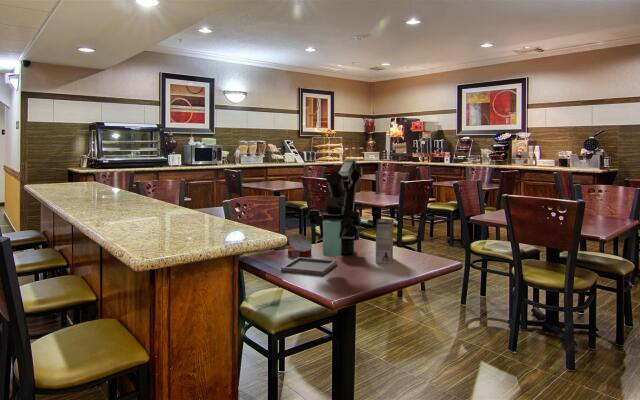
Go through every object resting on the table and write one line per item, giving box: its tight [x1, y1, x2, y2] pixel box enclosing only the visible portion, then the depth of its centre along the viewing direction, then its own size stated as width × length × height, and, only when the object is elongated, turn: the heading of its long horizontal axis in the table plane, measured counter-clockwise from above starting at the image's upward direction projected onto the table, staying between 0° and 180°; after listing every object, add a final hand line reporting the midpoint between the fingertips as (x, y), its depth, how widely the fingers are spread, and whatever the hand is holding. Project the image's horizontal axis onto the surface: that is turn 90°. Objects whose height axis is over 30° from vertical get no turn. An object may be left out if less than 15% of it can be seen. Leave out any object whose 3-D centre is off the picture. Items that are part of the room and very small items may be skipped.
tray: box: [280, 257, 338, 277], centre depth 172 cm, size 16×16×2 cm
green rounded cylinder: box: [322, 219, 342, 258], centre depth 163 cm, size 6×6×12 cm
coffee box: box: [375, 218, 394, 264], centre depth 181 cm, size 9×6×16 cm
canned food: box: [287, 233, 313, 259], centre depth 191 cm, size 11×10×10 cm
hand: (330, 237), depth 162 cm, fingers closed on green rounded cylinder, 6 cm apart
